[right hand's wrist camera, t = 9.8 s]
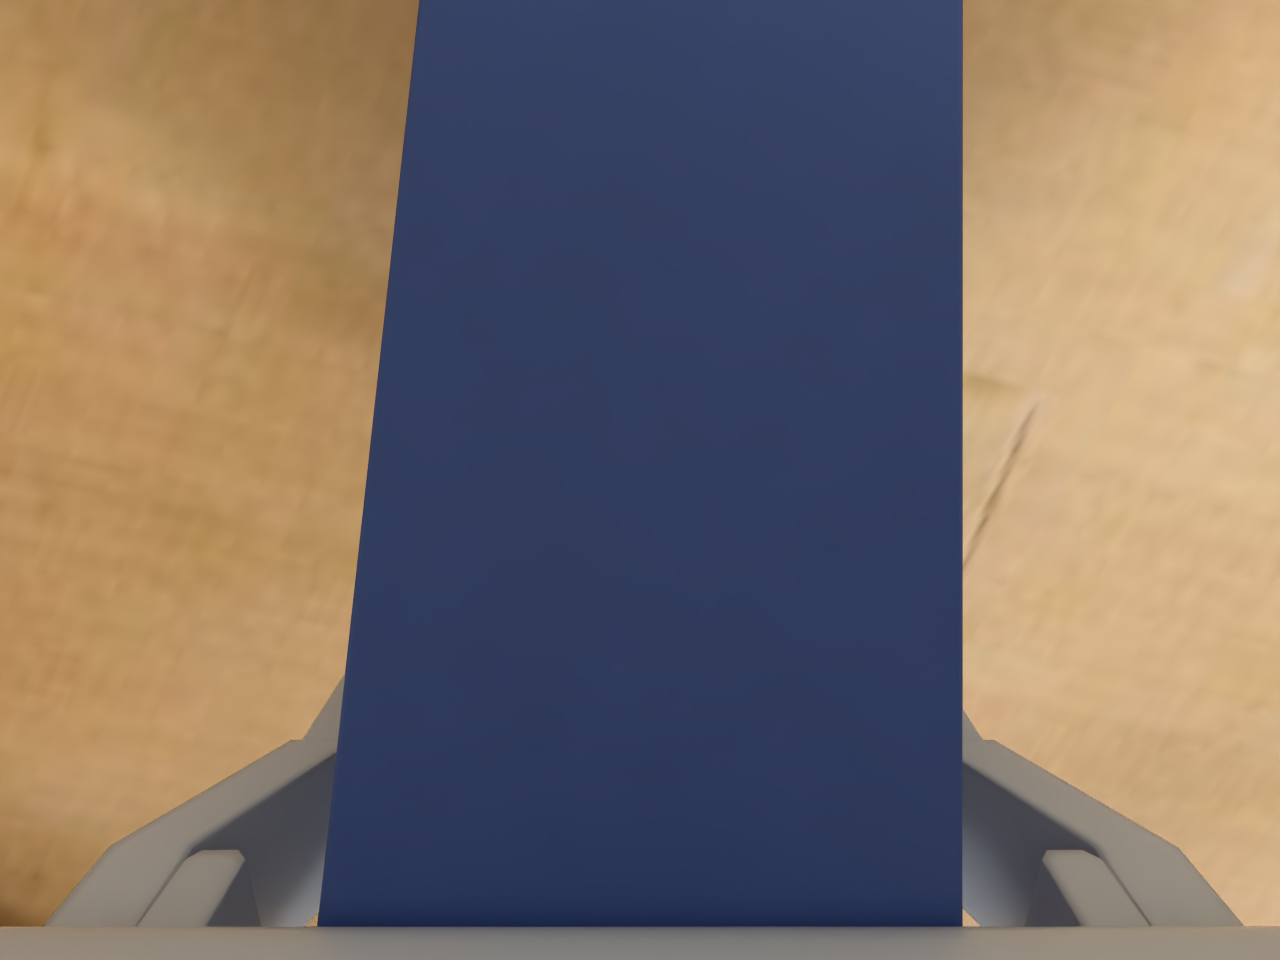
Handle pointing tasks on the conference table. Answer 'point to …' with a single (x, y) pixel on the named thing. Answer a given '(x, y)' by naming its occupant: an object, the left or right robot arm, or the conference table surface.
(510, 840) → the bar
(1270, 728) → the conference table surface
